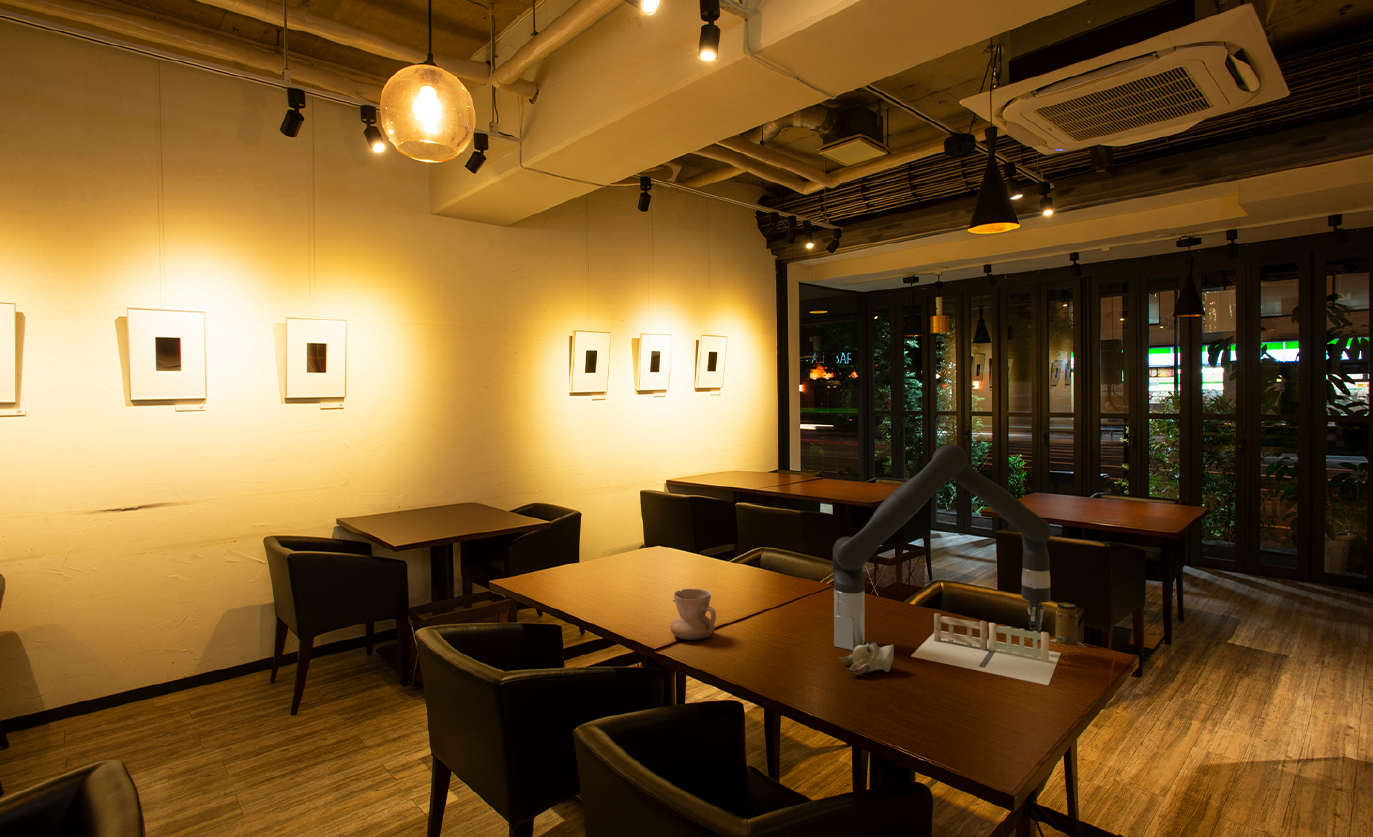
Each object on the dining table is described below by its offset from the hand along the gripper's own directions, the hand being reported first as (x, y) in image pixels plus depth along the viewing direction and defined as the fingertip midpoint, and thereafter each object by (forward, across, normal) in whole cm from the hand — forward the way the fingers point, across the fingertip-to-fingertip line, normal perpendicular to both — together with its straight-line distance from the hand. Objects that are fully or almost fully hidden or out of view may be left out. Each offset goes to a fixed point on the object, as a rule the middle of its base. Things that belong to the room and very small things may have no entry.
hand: (1035, 641), depth 198 cm
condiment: (+4, -16, +7) cm, 18 cm away
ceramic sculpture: (+4, +40, -37) cm, 55 cm away
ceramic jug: (+4, +45, -93) cm, 103 cm away
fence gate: (+3, +6, -4) cm, 8 cm away
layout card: (+4, +10, -12) cm, 16 cm away
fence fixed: (+4, +5, -20) cm, 21 cm away
